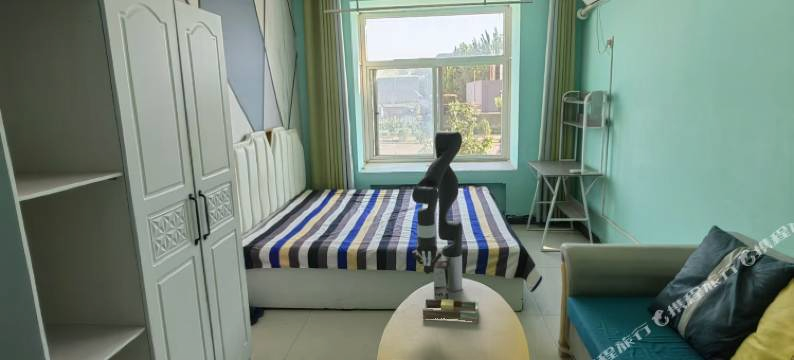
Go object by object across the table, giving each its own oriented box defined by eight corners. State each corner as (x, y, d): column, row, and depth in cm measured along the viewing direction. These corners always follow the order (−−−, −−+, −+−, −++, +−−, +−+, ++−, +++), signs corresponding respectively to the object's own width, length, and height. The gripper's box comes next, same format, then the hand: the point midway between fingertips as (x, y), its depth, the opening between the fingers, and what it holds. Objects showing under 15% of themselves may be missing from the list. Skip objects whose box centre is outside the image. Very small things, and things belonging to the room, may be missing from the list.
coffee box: (448, 302, 205) (447, 268, 201) (434, 301, 206) (433, 268, 202) (450, 292, 213) (449, 260, 210) (436, 292, 215) (435, 260, 211)
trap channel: (426, 308, 200) (425, 295, 199) (478, 311, 196) (478, 298, 195) (423, 319, 191) (422, 306, 189) (477, 323, 186) (477, 309, 185)
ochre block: (442, 307, 196) (441, 299, 195) (453, 308, 195) (453, 299, 194) (441, 313, 191) (440, 304, 190) (452, 314, 190) (452, 305, 189)
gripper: (443, 231, 189) (444, 270, 193) (412, 230, 192) (413, 268, 196) (441, 237, 182) (442, 277, 186) (409, 236, 185) (410, 276, 189)
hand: (427, 273), depth 191 cm, fingers closed
